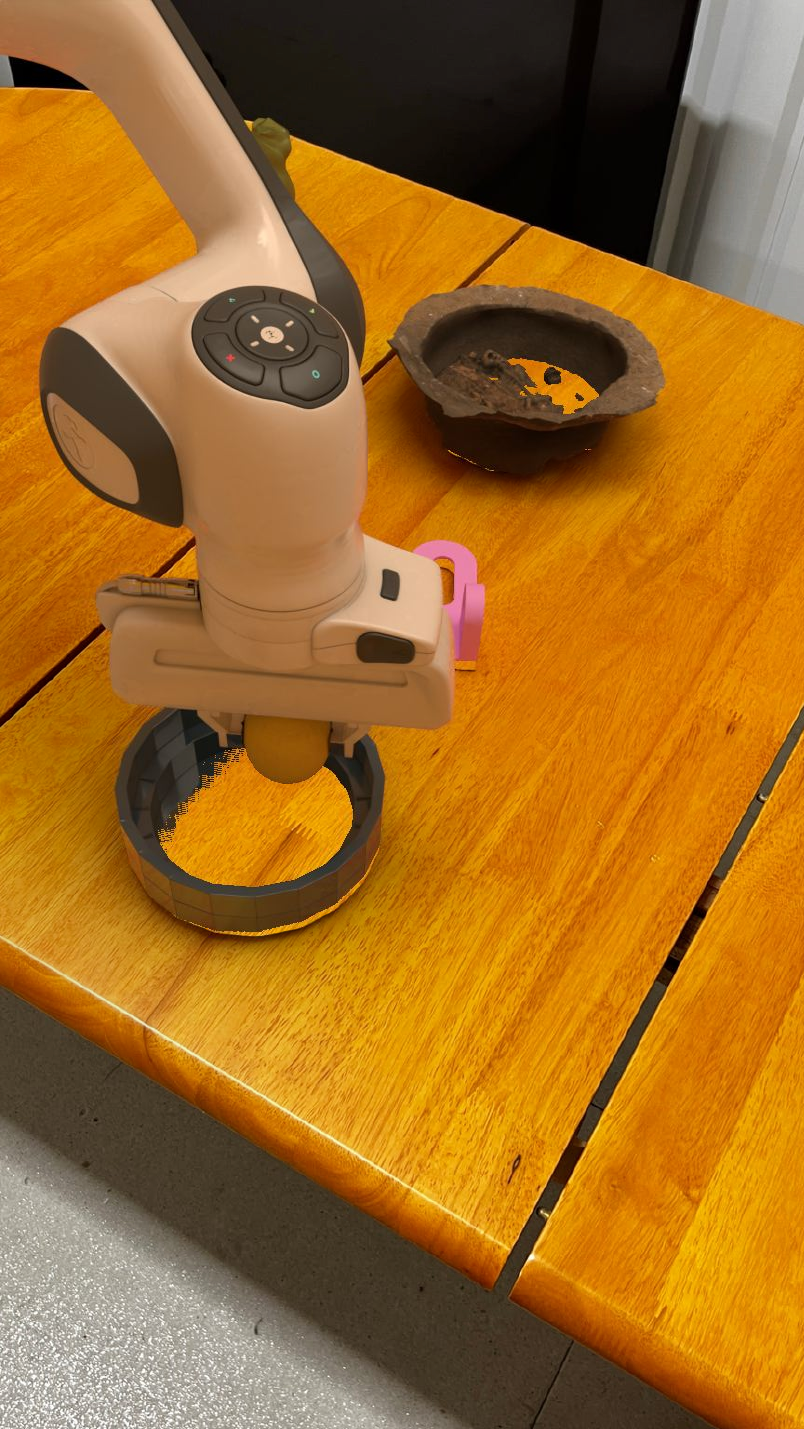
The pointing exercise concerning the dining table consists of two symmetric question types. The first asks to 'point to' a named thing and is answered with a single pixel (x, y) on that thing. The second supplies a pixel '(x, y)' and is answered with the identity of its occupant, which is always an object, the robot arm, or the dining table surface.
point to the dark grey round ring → (169, 774)
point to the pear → (275, 147)
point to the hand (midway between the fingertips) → (288, 744)
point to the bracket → (461, 596)
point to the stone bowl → (522, 372)
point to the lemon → (286, 746)
